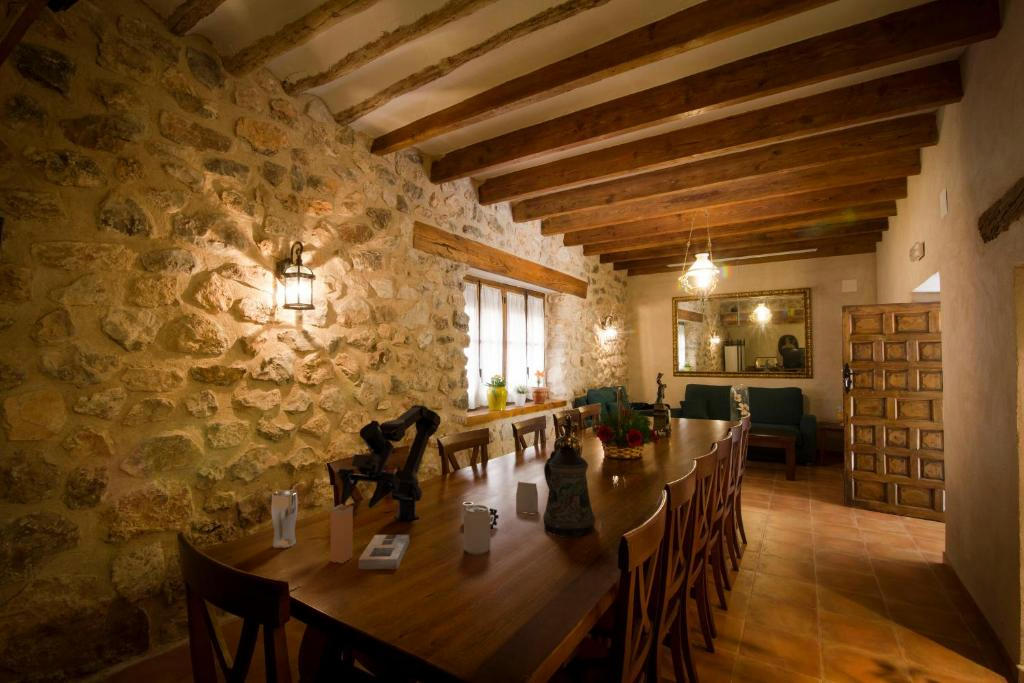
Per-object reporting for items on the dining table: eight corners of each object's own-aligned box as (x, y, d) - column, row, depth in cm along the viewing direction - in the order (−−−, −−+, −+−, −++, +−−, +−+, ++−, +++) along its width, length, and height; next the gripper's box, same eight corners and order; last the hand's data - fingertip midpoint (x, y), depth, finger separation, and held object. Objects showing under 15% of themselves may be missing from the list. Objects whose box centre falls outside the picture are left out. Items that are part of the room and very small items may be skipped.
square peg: (340, 555, 133) (340, 504, 134) (352, 557, 132) (352, 505, 132) (330, 561, 129) (330, 509, 130) (342, 563, 128) (343, 510, 128)
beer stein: (582, 542, 142) (582, 457, 142) (525, 529, 152) (525, 450, 153) (603, 525, 156) (602, 447, 156) (549, 514, 166) (549, 441, 167)
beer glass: (302, 541, 143) (303, 490, 143) (284, 551, 136) (285, 497, 136) (284, 538, 145) (284, 488, 145) (265, 547, 138) (265, 495, 139)
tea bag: (534, 514, 166) (534, 485, 166) (516, 511, 169) (516, 483, 169) (537, 511, 170) (537, 482, 170) (520, 508, 172) (520, 480, 172)
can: (469, 558, 131) (470, 513, 132) (459, 548, 138) (459, 505, 138) (494, 552, 135) (494, 509, 135) (483, 543, 142) (483, 502, 142)
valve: (456, 525, 156) (486, 533, 149) (456, 505, 156) (486, 511, 150) (469, 519, 162) (498, 526, 155) (469, 499, 162) (498, 506, 155)
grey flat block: (374, 543, 141) (374, 534, 141) (409, 543, 142) (409, 534, 142) (358, 569, 125) (358, 559, 125) (397, 568, 125) (397, 558, 125)
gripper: (340, 440, 145) (314, 487, 134) (394, 444, 139) (372, 494, 128) (357, 461, 152) (333, 507, 142) (409, 466, 146) (388, 514, 136)
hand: (355, 505), depth 137 cm, fingers open, 9 cm apart
